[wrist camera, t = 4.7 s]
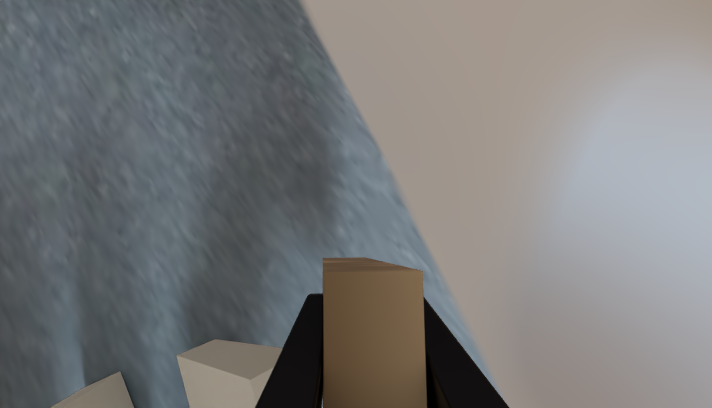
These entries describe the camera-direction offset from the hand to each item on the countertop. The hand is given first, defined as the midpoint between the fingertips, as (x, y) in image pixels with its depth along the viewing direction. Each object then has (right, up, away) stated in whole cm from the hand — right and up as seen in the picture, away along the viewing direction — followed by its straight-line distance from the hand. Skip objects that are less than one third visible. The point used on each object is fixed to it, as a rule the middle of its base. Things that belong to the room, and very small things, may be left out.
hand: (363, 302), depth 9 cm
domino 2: (-1, -3, +8) cm, 8 cm away
